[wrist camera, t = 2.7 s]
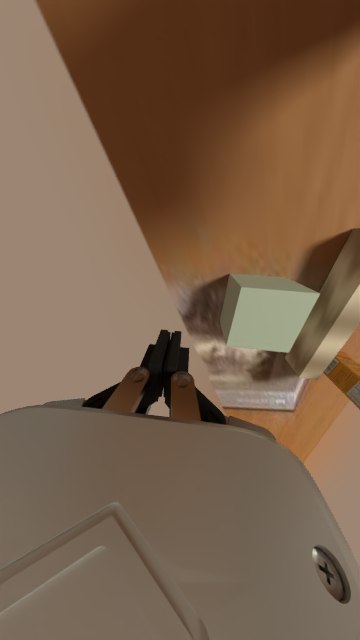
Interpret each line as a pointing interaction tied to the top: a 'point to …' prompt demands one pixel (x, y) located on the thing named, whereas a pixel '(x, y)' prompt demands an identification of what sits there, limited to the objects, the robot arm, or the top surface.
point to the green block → (264, 312)
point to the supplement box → (345, 376)
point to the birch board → (330, 315)
